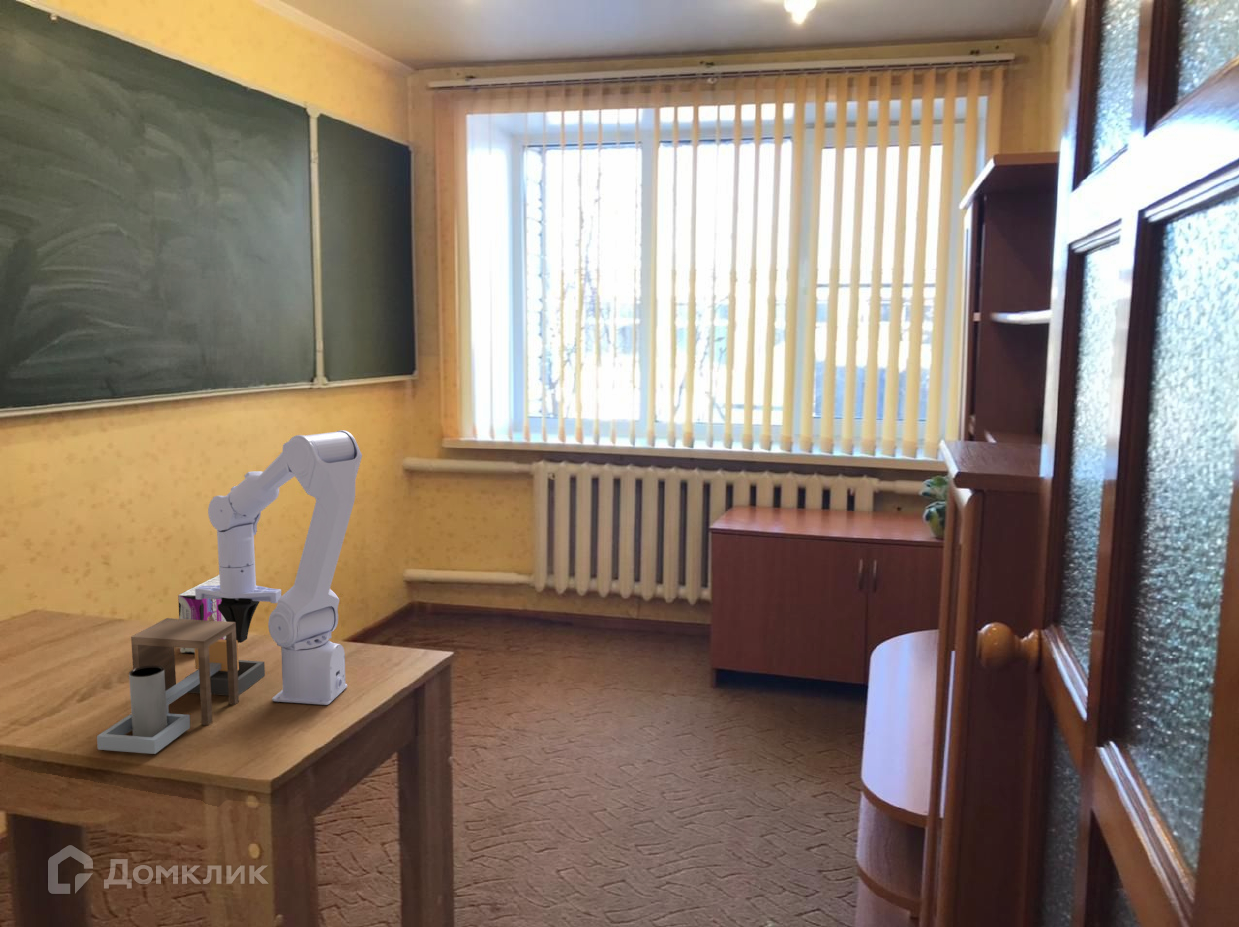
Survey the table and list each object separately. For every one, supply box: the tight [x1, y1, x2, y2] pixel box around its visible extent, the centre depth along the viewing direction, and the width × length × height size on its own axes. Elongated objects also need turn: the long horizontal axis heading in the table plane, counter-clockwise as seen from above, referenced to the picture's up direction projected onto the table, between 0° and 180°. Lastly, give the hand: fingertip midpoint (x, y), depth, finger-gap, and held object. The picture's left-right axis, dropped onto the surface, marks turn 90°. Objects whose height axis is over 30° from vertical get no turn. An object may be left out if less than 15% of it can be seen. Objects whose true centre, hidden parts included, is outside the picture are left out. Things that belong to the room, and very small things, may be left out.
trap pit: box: [186, 659, 266, 696], centre depth 156 cm, size 9×9×2 cm
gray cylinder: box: [128, 665, 167, 737], centre depth 135 cm, size 4×4×10 cm
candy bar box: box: [177, 574, 226, 654], centre depth 177 cm, size 11×5×16 cm
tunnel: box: [130, 617, 240, 726], centre depth 144 cm, size 12×9×13 cm
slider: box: [96, 639, 240, 755], centre depth 142 cm, size 9×24×8 cm, turn 173°
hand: (240, 640), depth 160 cm, fingers closed
